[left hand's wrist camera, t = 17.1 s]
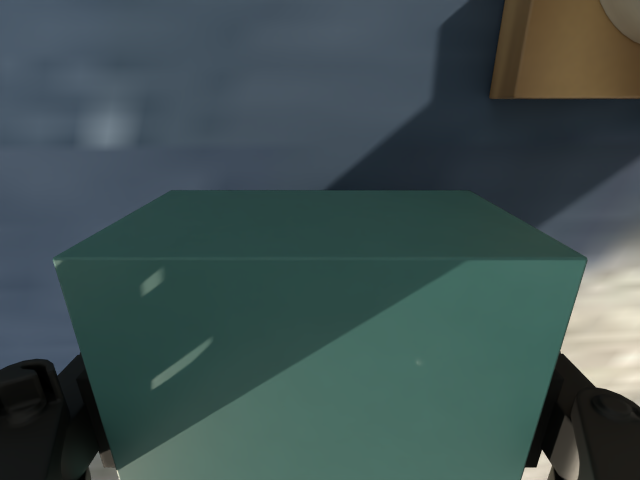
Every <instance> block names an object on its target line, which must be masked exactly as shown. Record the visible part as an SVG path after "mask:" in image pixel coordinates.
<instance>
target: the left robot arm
mask: <svg viewBox="0 0 640 480" xmlns="http://www.w3.org/2000/svg"><path fill="white" fill-rule="evenodd" d="M542 450H543V452H544V453H545V455H546V456H547V458H548V459H549V461H550V462H551V464H552V468H551V471H550V473H549V476H548V479H547V480H640V407H639V406H638V405H637V404H635V403H634V402H633V401H631V400H629V399H627V398H625V397H624V396H622V395H620V394H617V393H615V392H612V391H609V390H607V389H602V388H596V387H595V386H594V385H593V384H592V383H591V382H590V381H589V380H588V379H587V378H586V377H585V376H584V375H583V374H582V373H581V372H580V371H579V370H578V369H577V368H576V367H575V366H574V365H573V364H572V363H571V361H570V360H569V359H568V358H567V357H566V356H565V355H564V354H561V352H560V353H559V356H558V359H557V363H556V366H555V369H554V372H553V376H552V379H551V382H550V386H549V389H548V392H547V396H546V399H545V402H544V405H543V409H542V412H541V415H540V419H539V422H538V425H537V429H536V432H535V435H534V438H533V442H532V445H531V448H530V452H529V455H528V458H527V462H526V465H525V467H537V464H538V461H539V457H540V454H541V451H542ZM98 451H99V453H100V457H101V460H102V463H103V466H104V467H115V464H114V460H113V457H112V454H111V450H110V447H109V444H108V441H107V437H106V434H105V431H104V427H103V424H102V421H101V417H100V414H99V411H98V408H97V404H96V401H95V398H94V394H93V391H92V388H91V384H90V381H89V378H88V374H87V371H86V368H85V365H84V361H83V358H82V355H81V352H80V355H77V356H76V357H75V358H74V359H73V360H72V361H71V362H70V363H69V364H68V365H67V367H66V368H65V369H64V370H63V371H62V372H61V373H60V374H59V375H58V376H57V374H56V371H55V368H54V365H53V363H51V362H50V361H48V360H45V359H32V360H26V361H21V362H18V363H15V364H12V365H9V366H7V367H5V368H3V369H1V370H0V480H91V475H90V471H89V468H88V466H89V465H90V463H91V462H92V460H93V458H94V457H95V455H96V454H97V452H98Z"/></svg>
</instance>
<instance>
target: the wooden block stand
mask: <svg viewBox="0 0 640 480" xmlns="http://www.w3.org/2000/svg"><path fill="white" fill-rule="evenodd" d="M489 98H490V99H640V0H505V3H504V10H503V16H502V22H501V28H500V34H499V40H498V46H497V53H496V59H495V65H494V71H493V77H492V83H491V89H490V96H489Z"/></svg>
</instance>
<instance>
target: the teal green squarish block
mask: <svg viewBox="0 0 640 480" xmlns="http://www.w3.org/2000/svg"><path fill="white" fill-rule="evenodd" d="M53 262H54V265H55V269H56V272H57V275H58V279H59V282H60V285H61V289H62V292H63V295H64V299H65V302H66V305H67V308H68V312H69V315H70V318H71V322H72V325H73V328H74V332H75V335H76V338H77V341H78V345H79V348H80V351H81V355H82V358H83V361H84V365H85V368H86V371H87V374H88V378H89V381H90V384H91V388H92V391H93V394H94V398H95V401H96V404H97V408H98V411H99V414H100V417H101V421H102V424H103V427H104V431H105V434H106V437H107V441H108V444H109V447H110V450H111V454H112V457H113V460H114V464H115V467H116V470H117V474H118V477H119V480H521V478H522V475H523V471H524V468H525V465H526V462H527V458H528V455H529V452H530V448H531V445H532V442H533V438H534V435H535V432H536V429H537V425H538V422H539V419H540V415H541V412H542V409H543V405H544V402H545V399H546V396H547V392H548V389H549V386H550V382H551V379H552V376H553V372H554V369H555V366H556V363H557V359H558V356H559V353H560V349H561V346H562V343H563V339H564V336H565V333H566V330H567V326H568V323H569V320H570V316H571V313H572V310H573V307H574V303H575V300H576V297H577V293H578V290H579V287H580V283H581V280H582V277H583V274H584V270H585V267H586V264H587V258H586V257H585V256H583V255H581V254H580V253H578V252H576V251H574V250H573V249H571V248H569V247H567V246H566V245H564V244H562V243H560V242H559V241H557V240H555V239H553V238H552V237H550V236H548V235H546V234H545V233H543V232H541V231H539V230H538V229H536V228H534V227H532V226H531V225H529V224H527V223H525V222H524V221H522V220H520V219H518V218H517V217H515V216H513V215H511V214H510V213H508V212H506V211H504V210H503V209H501V208H499V207H497V206H496V205H494V204H492V203H490V202H489V201H487V200H485V199H483V198H482V197H480V196H478V195H476V194H475V193H473V192H471V191H469V190H171V191H169V192H168V193H166V194H164V195H162V196H161V197H159V198H157V199H155V200H154V201H152V202H150V203H148V204H147V205H145V206H143V207H141V208H140V209H138V210H136V211H134V212H132V213H131V214H129V215H127V216H125V217H124V218H122V219H120V220H118V221H117V222H115V223H113V224H111V225H110V226H108V227H106V228H104V229H103V230H101V231H99V232H97V233H96V234H94V235H92V236H90V237H89V238H87V239H85V240H83V241H82V242H80V243H78V244H76V245H75V246H73V247H71V248H69V249H68V250H66V251H64V252H62V253H61V254H59V255H57V256H55V257H54V258H53Z"/></svg>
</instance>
